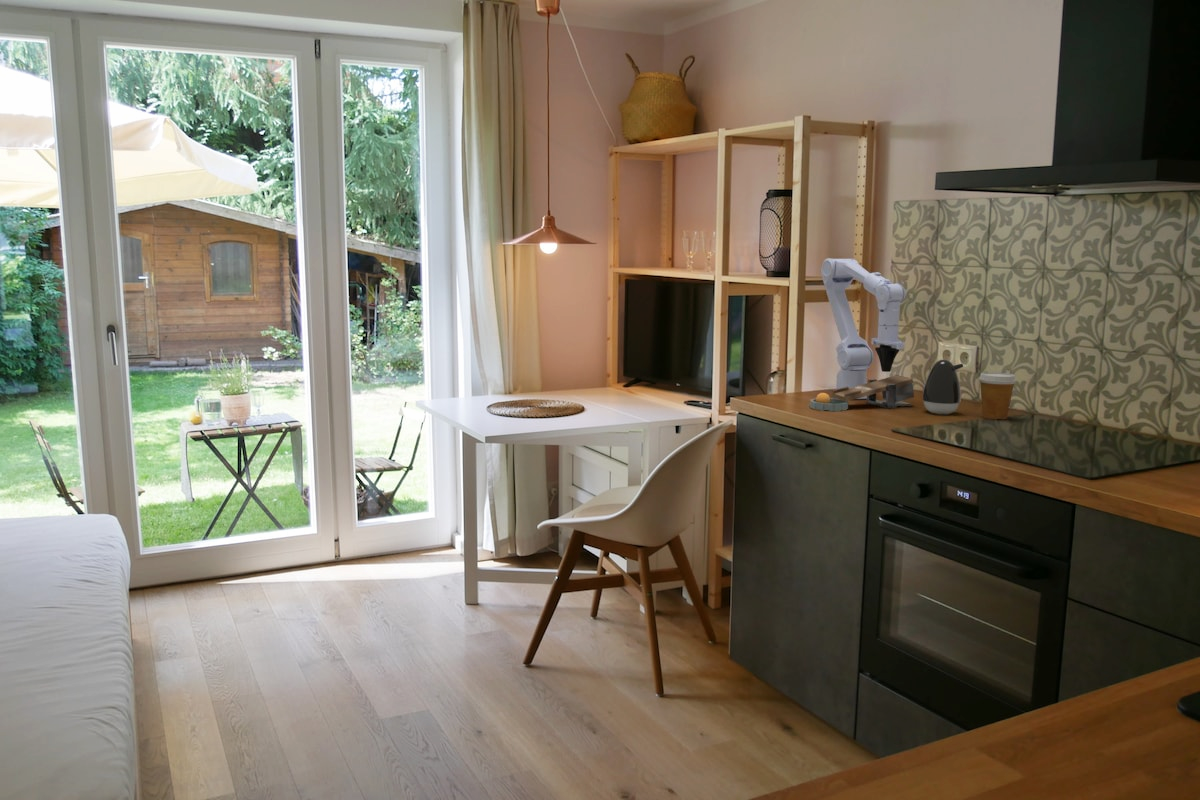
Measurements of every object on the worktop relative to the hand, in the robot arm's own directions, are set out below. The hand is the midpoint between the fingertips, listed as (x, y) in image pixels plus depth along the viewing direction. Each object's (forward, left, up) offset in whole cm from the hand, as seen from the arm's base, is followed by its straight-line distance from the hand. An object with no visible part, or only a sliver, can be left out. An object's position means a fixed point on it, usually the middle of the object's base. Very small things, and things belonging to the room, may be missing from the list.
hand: (886, 371), depth 287 cm
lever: (+1, -4, -10) cm, 10 cm away
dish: (+1, -19, -10) cm, 21 cm away
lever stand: (+1, +2, -10) cm, 10 cm away
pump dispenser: (+16, +8, -10) cm, 20 cm away
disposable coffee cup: (+26, +18, -10) cm, 33 cm away
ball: (+1, -21, -8) cm, 22 cm away
